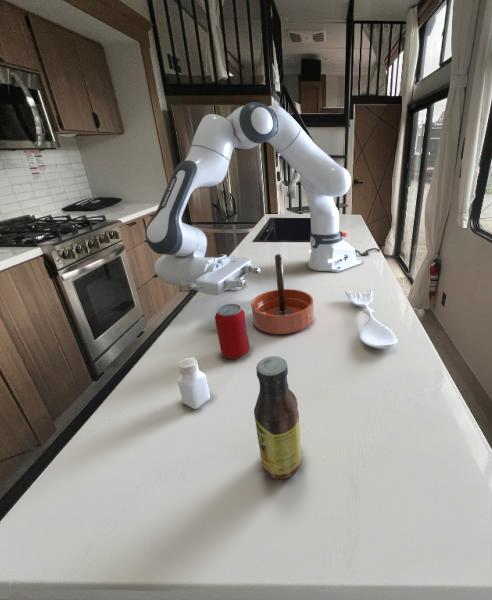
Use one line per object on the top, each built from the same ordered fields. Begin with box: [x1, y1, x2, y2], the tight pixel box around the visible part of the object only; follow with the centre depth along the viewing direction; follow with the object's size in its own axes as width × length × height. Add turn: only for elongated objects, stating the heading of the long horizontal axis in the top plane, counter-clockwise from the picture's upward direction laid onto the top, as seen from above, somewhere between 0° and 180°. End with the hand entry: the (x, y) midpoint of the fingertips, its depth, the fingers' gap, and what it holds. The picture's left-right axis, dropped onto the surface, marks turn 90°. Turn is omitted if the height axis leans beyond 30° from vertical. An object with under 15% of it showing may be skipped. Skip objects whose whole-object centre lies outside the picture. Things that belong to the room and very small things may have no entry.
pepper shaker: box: [177, 356, 211, 410], centre depth 62 cm, size 4×4×10 cm
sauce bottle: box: [253, 355, 302, 480], centre depth 47 cm, size 6×6×20 cm
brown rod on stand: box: [274, 253, 292, 315], centre depth 89 cm, size 5×5×19 cm
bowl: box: [250, 288, 315, 335], centre depth 92 cm, size 17×17×6 cm
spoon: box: [345, 288, 398, 349], centre depth 91 cm, size 9×32×4 cm, turn 5°
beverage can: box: [214, 303, 250, 359], centre depth 76 cm, size 7×7×12 cm
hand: (251, 277), depth 90 cm, fingers open, 8 cm apart
